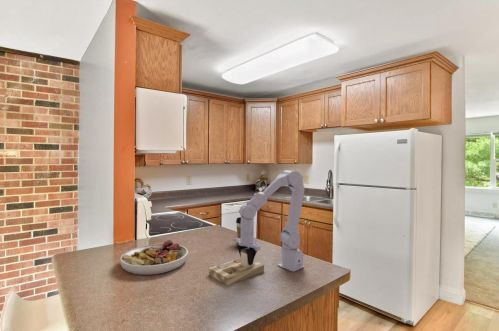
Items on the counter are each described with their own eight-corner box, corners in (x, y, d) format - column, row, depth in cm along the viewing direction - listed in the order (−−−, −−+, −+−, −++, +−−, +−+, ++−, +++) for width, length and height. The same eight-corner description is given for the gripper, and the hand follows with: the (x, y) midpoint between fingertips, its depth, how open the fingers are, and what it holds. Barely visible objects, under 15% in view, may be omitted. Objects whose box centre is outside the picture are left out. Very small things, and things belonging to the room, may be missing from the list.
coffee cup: (244, 246, 155) (244, 219, 154) (232, 243, 160) (232, 217, 160) (253, 242, 162) (253, 217, 161) (242, 240, 167) (242, 215, 166)
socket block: (264, 271, 121) (264, 264, 121) (227, 285, 108) (227, 277, 108) (244, 263, 131) (244, 256, 130) (209, 274, 117) (209, 267, 117)
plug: (253, 267, 121) (253, 249, 121) (246, 270, 118) (246, 251, 118) (247, 265, 124) (247, 247, 124) (240, 267, 121) (240, 249, 121)
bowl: (169, 281, 112) (169, 261, 112) (104, 274, 118) (104, 256, 118) (197, 255, 142) (197, 240, 141) (144, 251, 148) (144, 236, 147)
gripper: (229, 230, 123) (229, 260, 124) (251, 237, 112) (251, 270, 113) (241, 227, 128) (241, 256, 128) (263, 234, 117) (263, 265, 117)
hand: (247, 262), depth 121 cm, fingers closed on plug, 4 cm apart
